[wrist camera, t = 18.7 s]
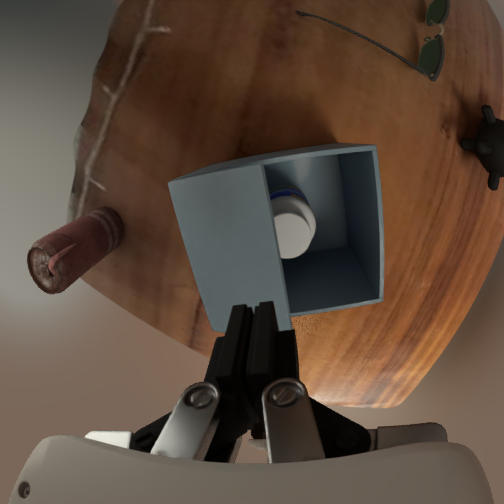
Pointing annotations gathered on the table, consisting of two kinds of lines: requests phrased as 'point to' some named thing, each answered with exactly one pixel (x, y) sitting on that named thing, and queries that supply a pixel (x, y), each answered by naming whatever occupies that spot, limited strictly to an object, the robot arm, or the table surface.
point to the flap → (231, 242)
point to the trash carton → (330, 223)
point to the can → (73, 249)
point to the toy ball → (489, 146)
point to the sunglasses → (432, 49)
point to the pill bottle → (292, 220)
